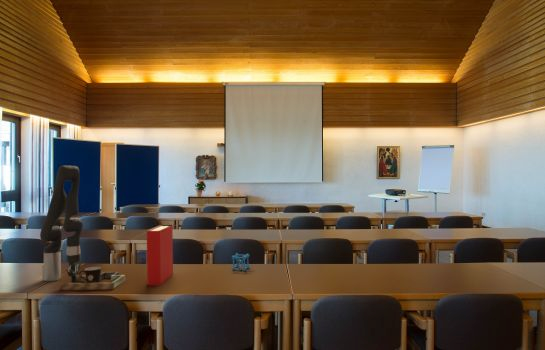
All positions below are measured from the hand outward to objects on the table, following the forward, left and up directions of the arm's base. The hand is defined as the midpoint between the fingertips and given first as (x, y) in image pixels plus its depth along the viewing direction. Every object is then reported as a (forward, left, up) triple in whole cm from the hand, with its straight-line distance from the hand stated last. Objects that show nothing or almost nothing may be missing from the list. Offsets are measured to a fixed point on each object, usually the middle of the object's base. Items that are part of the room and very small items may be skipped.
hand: (73, 282), depth 242 cm
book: (+48, +12, -2) cm, 49 cm away
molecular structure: (+96, +36, -2) cm, 102 cm away
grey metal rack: (+12, +4, -1) cm, 13 cm away
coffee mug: (+10, 0, -2) cm, 10 cm away
